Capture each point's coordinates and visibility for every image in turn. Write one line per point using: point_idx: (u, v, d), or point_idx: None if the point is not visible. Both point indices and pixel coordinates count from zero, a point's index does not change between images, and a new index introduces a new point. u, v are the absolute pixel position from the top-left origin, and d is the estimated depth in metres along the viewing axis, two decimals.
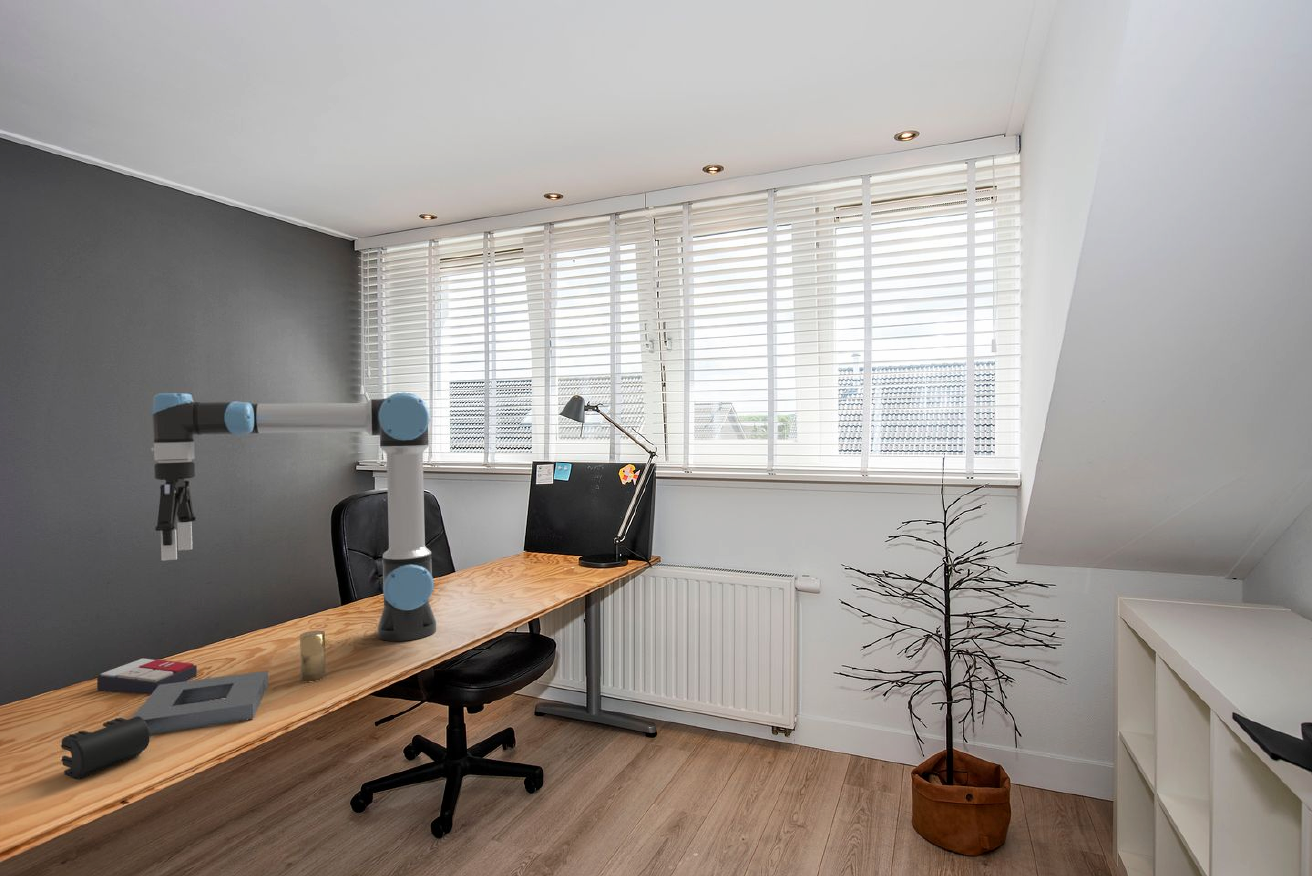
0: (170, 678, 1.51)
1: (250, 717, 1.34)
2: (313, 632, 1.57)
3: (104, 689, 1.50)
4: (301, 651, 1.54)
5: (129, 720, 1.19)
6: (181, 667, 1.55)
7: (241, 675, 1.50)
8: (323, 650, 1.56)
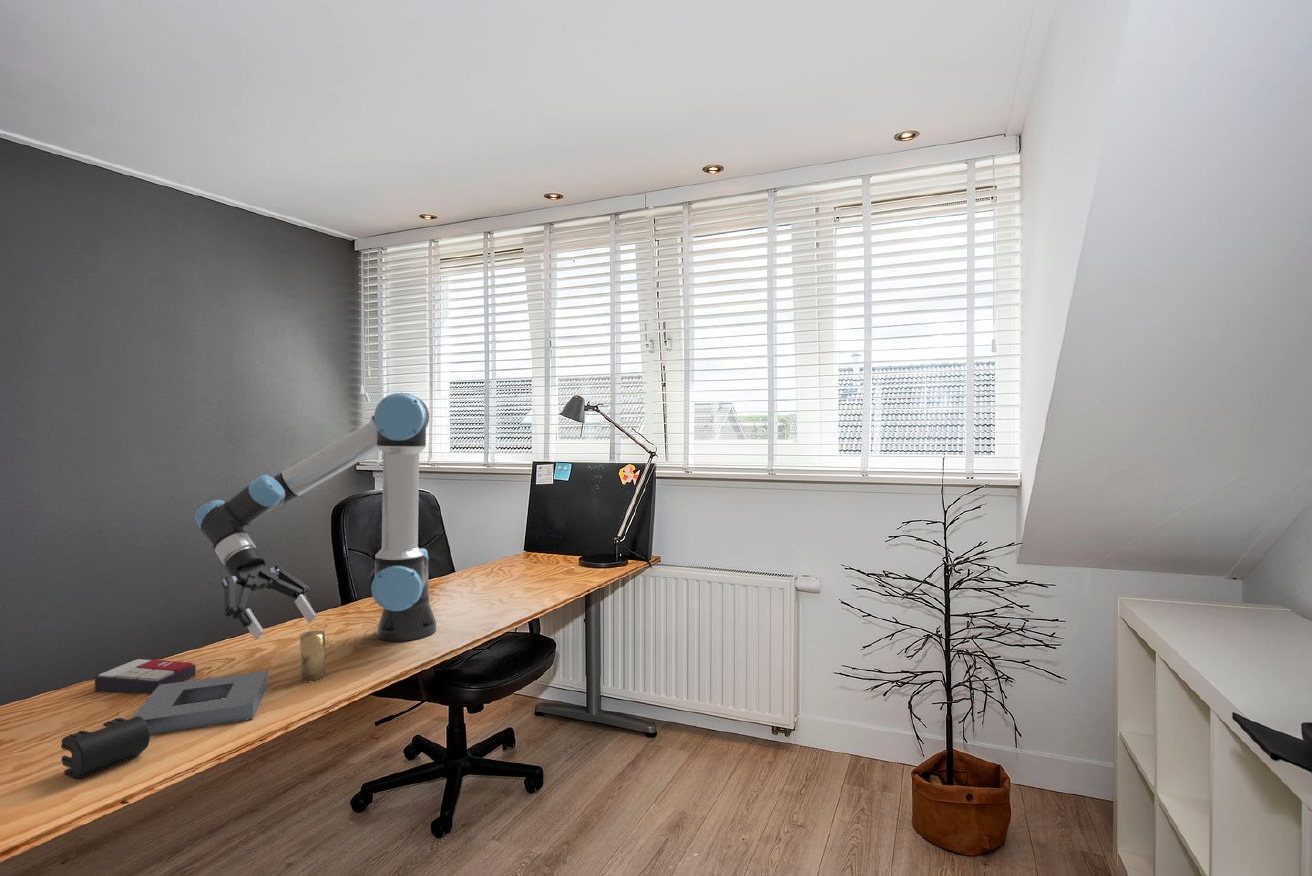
0: (171, 677, 1.52)
1: (250, 717, 1.34)
2: (313, 632, 1.57)
3: (102, 690, 1.50)
4: (301, 651, 1.54)
5: (129, 720, 1.19)
6: (181, 666, 1.56)
7: (241, 675, 1.50)
8: (323, 650, 1.56)
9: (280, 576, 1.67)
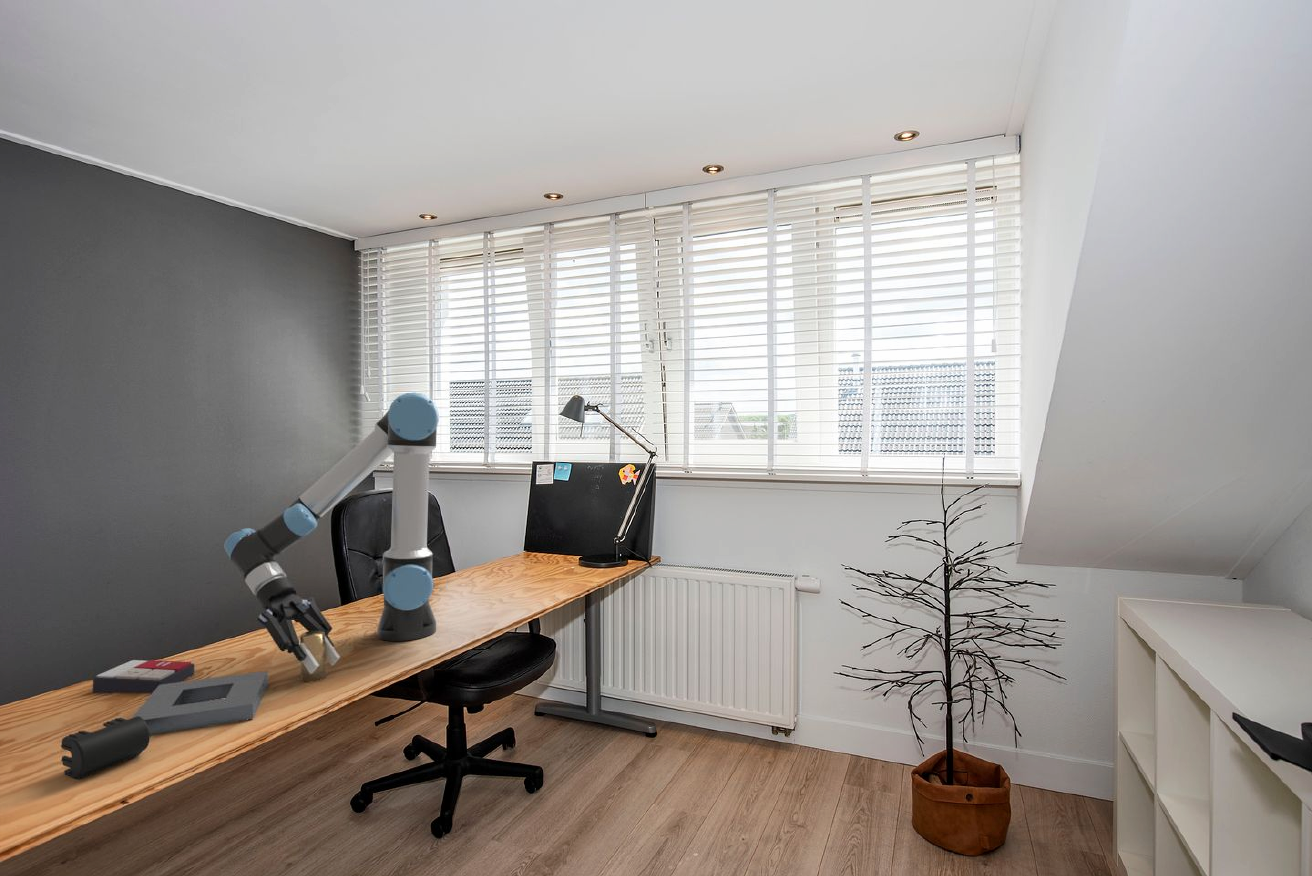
0: (172, 676, 1.52)
1: (250, 717, 1.34)
2: (313, 632, 1.57)
3: (101, 691, 1.49)
4: None
5: (129, 720, 1.19)
6: (180, 666, 1.56)
7: (241, 675, 1.50)
8: (323, 650, 1.56)
9: (309, 610, 1.63)
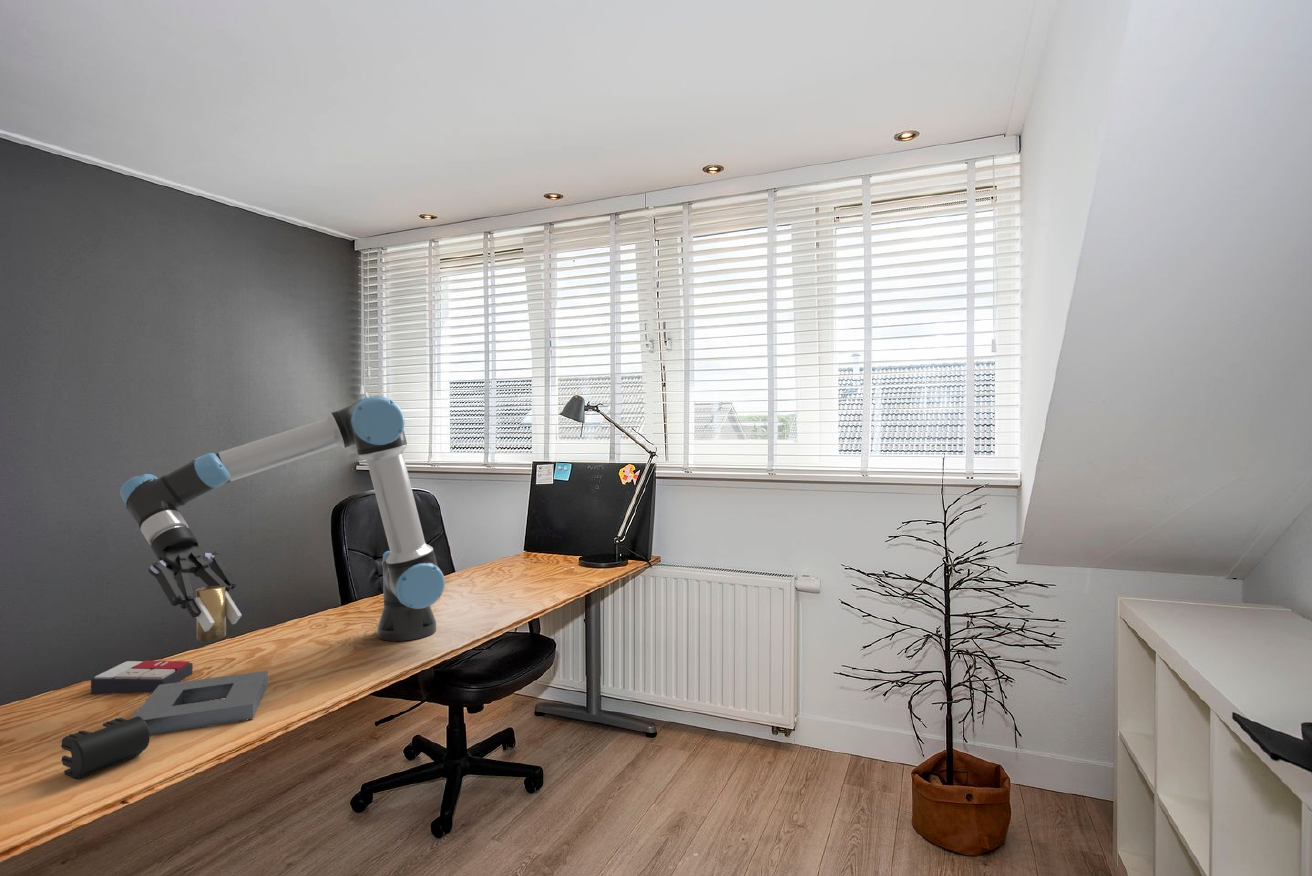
0: (174, 675, 1.53)
1: (250, 717, 1.34)
2: (212, 587, 1.42)
3: (100, 692, 1.48)
4: None
5: (129, 720, 1.19)
6: (179, 665, 1.57)
7: (241, 675, 1.50)
8: (222, 606, 1.41)
9: (213, 564, 1.48)
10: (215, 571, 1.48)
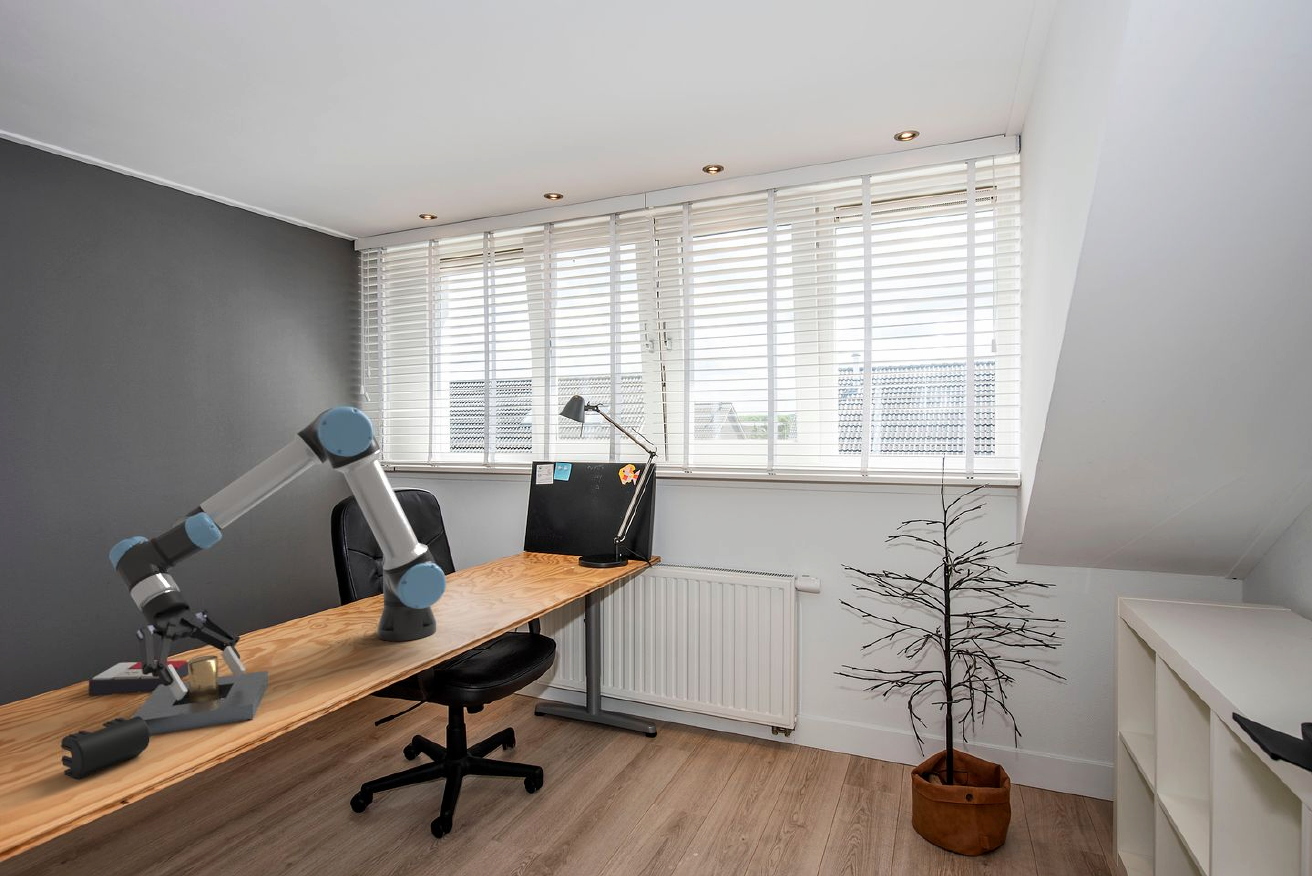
0: None
1: (250, 717, 1.34)
2: (205, 657, 1.41)
3: (99, 693, 1.48)
4: (189, 679, 1.38)
5: (129, 720, 1.19)
6: (178, 664, 1.57)
7: None
8: (215, 678, 1.39)
9: (207, 623, 1.47)
10: (212, 629, 1.48)
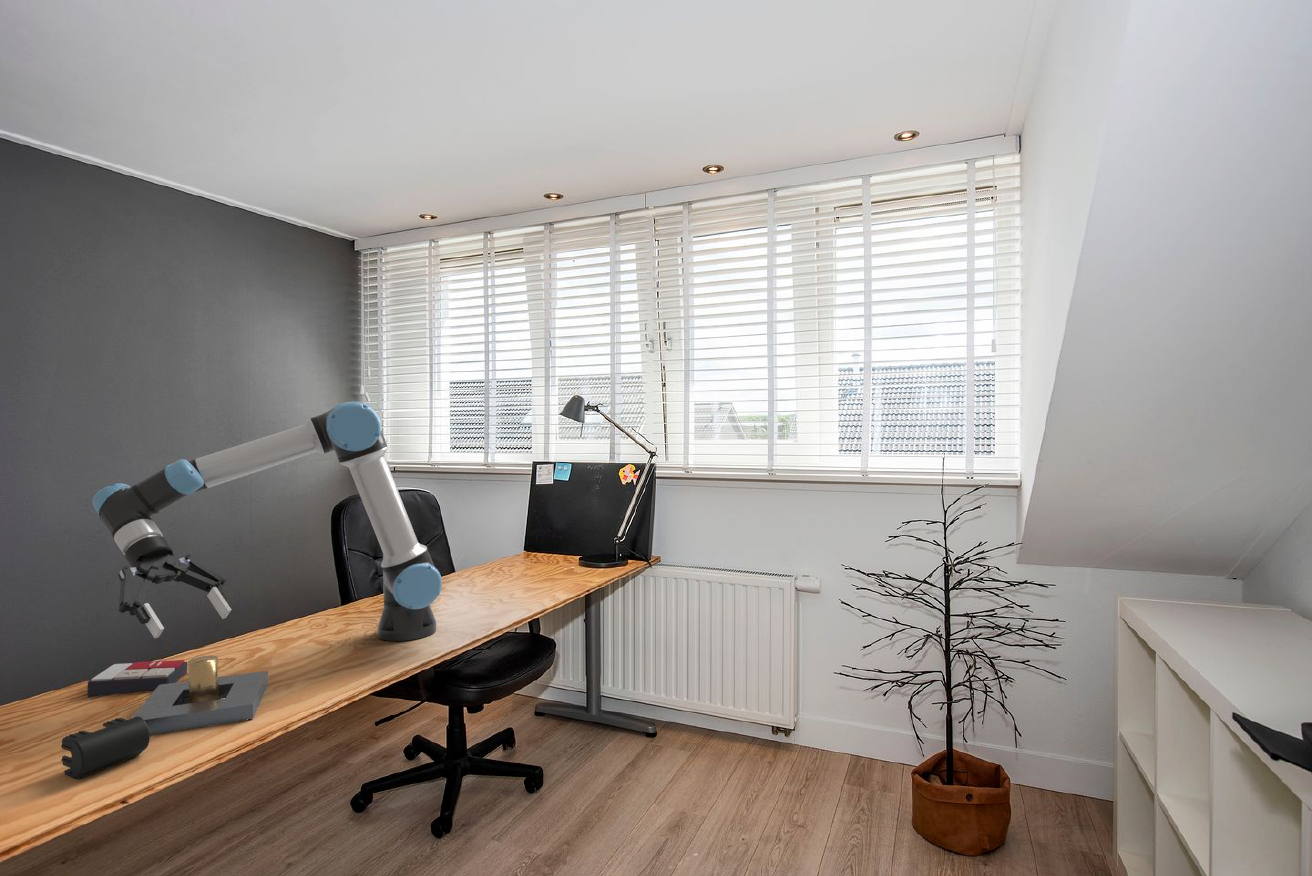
0: (175, 673, 1.54)
1: (250, 717, 1.34)
2: (205, 657, 1.41)
3: (98, 694, 1.47)
4: (189, 679, 1.38)
5: (129, 720, 1.19)
6: (177, 663, 1.58)
7: (241, 675, 1.50)
8: (215, 678, 1.39)
9: (191, 567, 1.49)
10: (196, 573, 1.49)
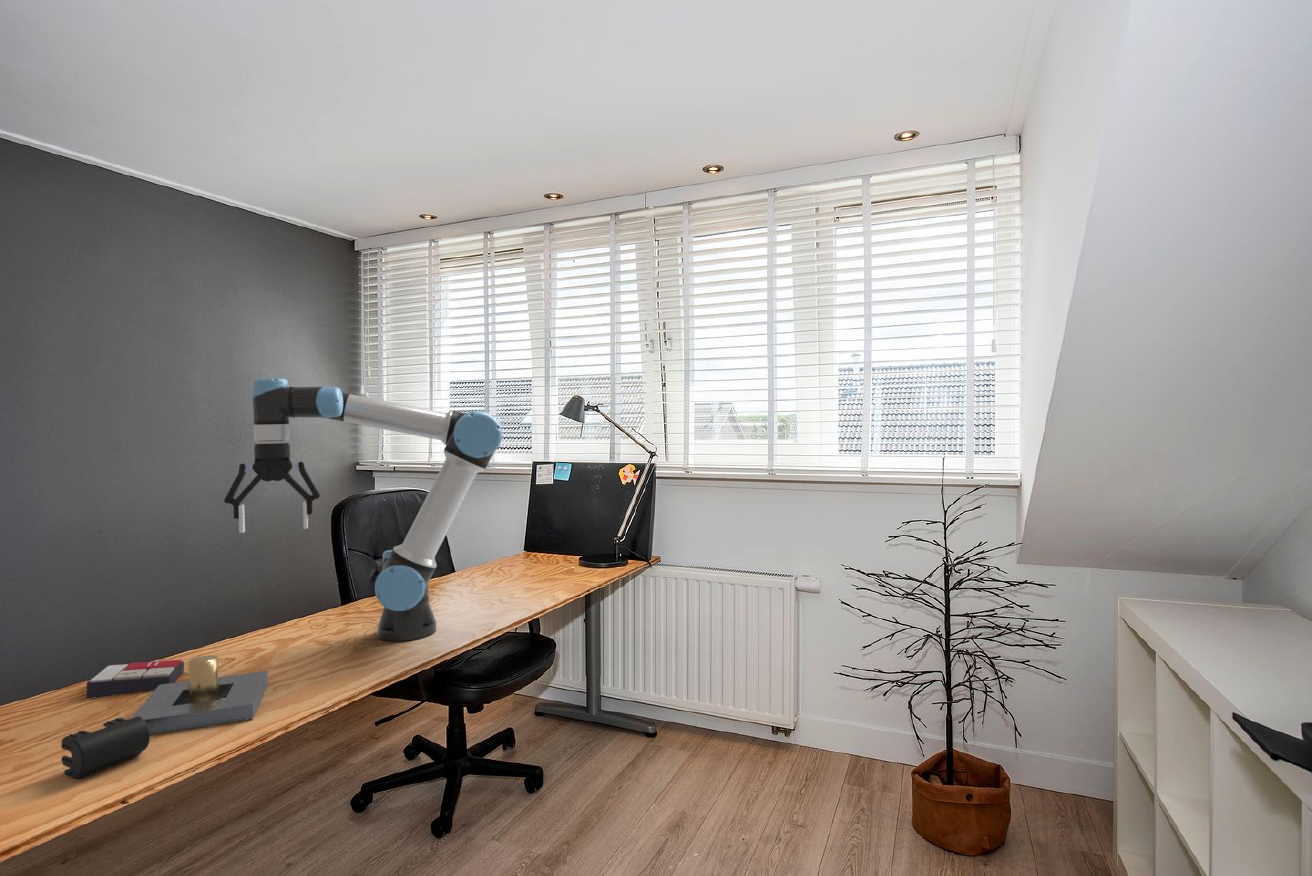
0: (175, 672, 1.55)
1: (250, 717, 1.34)
2: (205, 657, 1.41)
3: (98, 695, 1.47)
4: (189, 679, 1.38)
5: (129, 720, 1.19)
6: (175, 663, 1.58)
7: (241, 675, 1.50)
8: (215, 678, 1.39)
9: None
10: None
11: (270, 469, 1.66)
